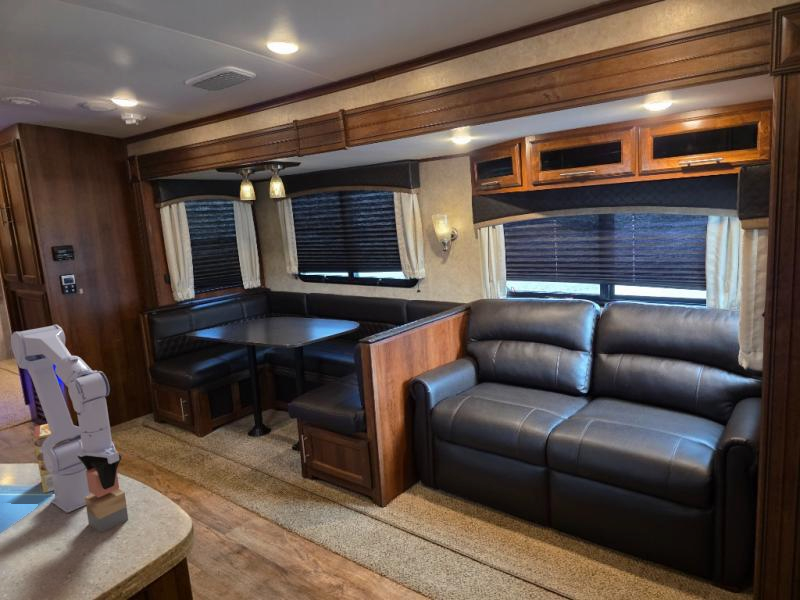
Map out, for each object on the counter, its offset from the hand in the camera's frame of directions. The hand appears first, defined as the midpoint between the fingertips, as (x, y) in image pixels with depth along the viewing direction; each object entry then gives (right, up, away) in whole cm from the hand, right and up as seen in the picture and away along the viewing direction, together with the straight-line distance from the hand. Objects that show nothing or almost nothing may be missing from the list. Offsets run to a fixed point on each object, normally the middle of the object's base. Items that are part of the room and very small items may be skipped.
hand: (103, 484), depth 117 cm
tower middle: (0, -6, +1) cm, 6 cm away
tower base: (0, -10, +2) cm, 10 cm away
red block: (0, -1, 0) cm, 1 cm away
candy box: (-25, -7, +20) cm, 32 cm away
